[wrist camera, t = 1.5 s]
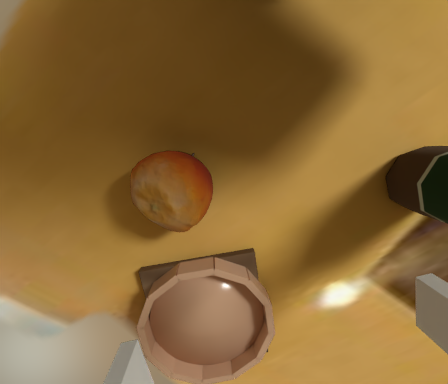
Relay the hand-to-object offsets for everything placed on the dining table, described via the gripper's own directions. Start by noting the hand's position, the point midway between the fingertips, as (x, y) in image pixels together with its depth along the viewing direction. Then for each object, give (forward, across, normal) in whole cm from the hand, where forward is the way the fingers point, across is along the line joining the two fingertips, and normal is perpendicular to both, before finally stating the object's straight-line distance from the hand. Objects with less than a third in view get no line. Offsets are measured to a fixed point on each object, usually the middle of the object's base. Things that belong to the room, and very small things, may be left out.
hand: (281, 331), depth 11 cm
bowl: (+16, -6, -12) cm, 21 cm away
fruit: (+17, -6, +5) cm, 19 cm away
